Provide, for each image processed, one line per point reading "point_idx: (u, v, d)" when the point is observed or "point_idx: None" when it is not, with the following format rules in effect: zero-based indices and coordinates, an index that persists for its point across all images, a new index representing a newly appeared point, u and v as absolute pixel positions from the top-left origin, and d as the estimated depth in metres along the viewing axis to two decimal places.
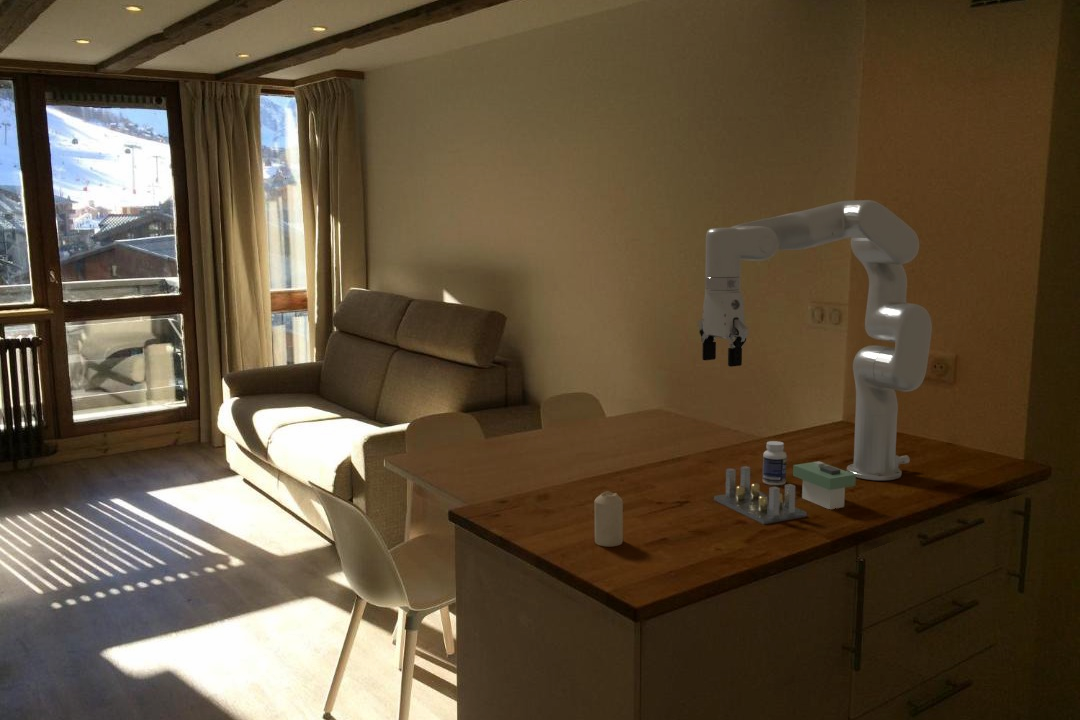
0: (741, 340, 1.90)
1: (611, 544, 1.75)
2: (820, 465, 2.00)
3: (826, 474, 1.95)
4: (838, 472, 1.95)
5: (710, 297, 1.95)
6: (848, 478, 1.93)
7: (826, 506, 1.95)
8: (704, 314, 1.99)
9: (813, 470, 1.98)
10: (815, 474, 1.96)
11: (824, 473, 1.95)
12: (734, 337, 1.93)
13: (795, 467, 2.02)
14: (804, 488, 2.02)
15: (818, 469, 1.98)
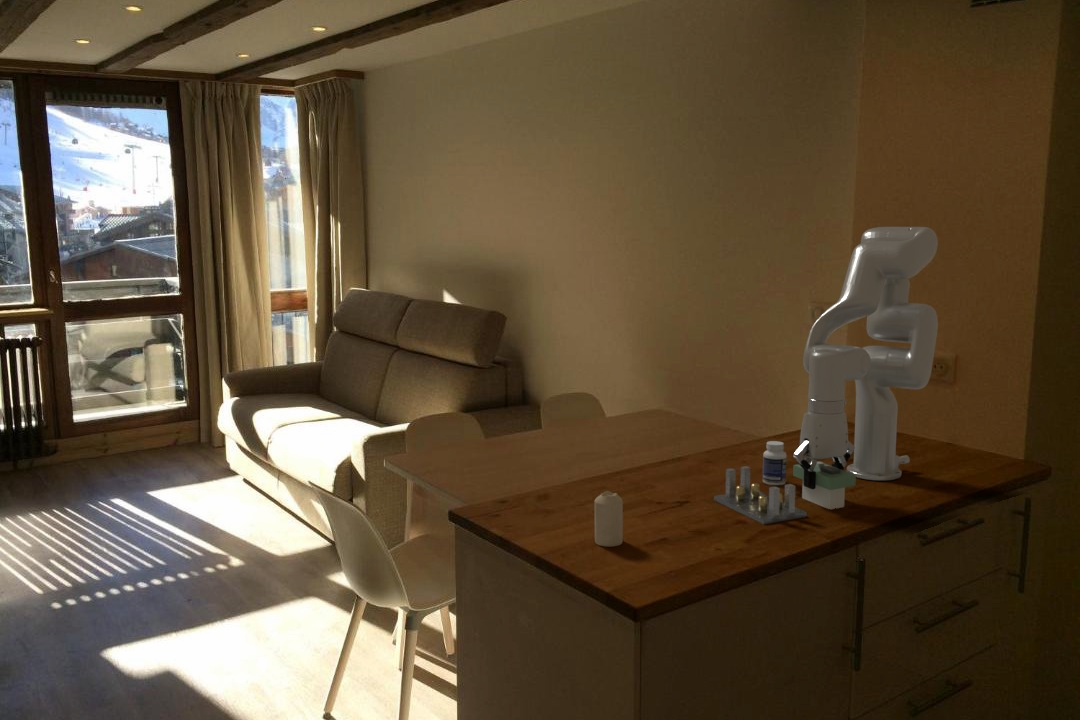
0: None
1: (611, 544, 1.75)
2: (820, 465, 2.00)
3: (826, 474, 1.95)
4: (838, 472, 1.95)
5: (830, 420, 1.94)
6: (848, 478, 1.93)
7: (826, 506, 1.95)
8: (818, 440, 1.94)
9: (813, 470, 1.98)
10: None
11: (824, 473, 1.95)
12: None
13: (795, 467, 2.02)
14: (804, 488, 2.02)
15: (818, 469, 1.98)
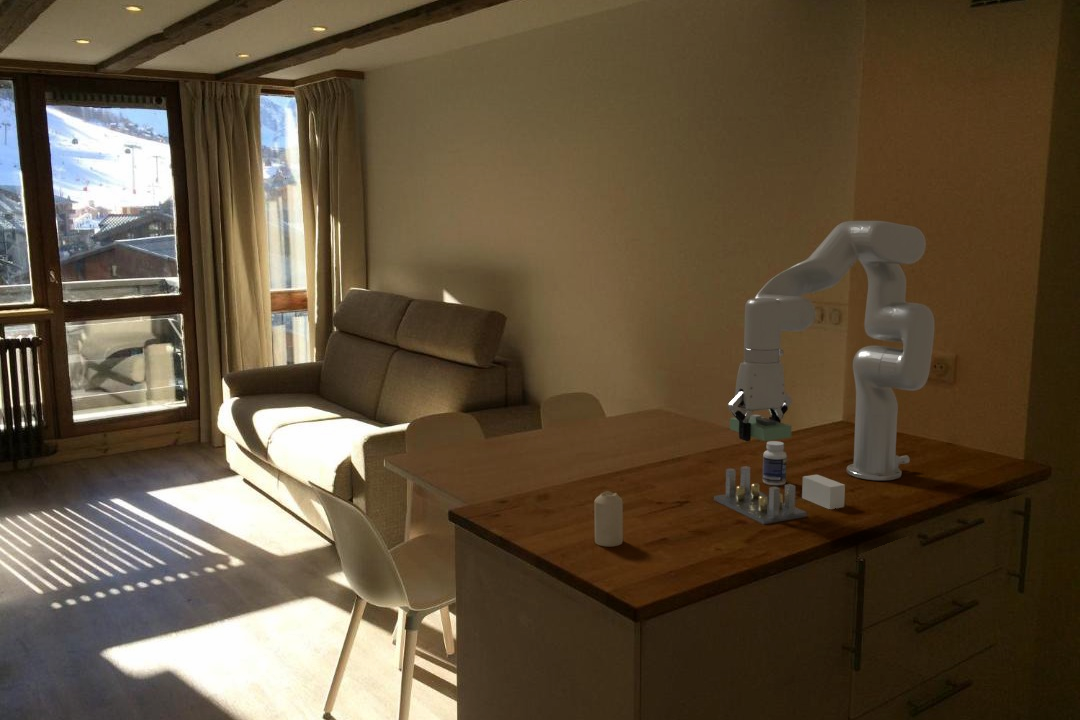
0: None
1: (611, 544, 1.75)
2: (757, 418, 1.95)
3: (761, 425, 1.89)
4: (774, 423, 1.90)
5: (766, 370, 1.89)
6: (783, 429, 1.88)
7: (826, 506, 1.95)
8: (753, 390, 1.89)
9: (749, 422, 1.93)
10: None
11: (759, 424, 1.90)
12: None
13: (732, 420, 1.96)
14: (804, 488, 2.02)
15: (754, 421, 1.93)
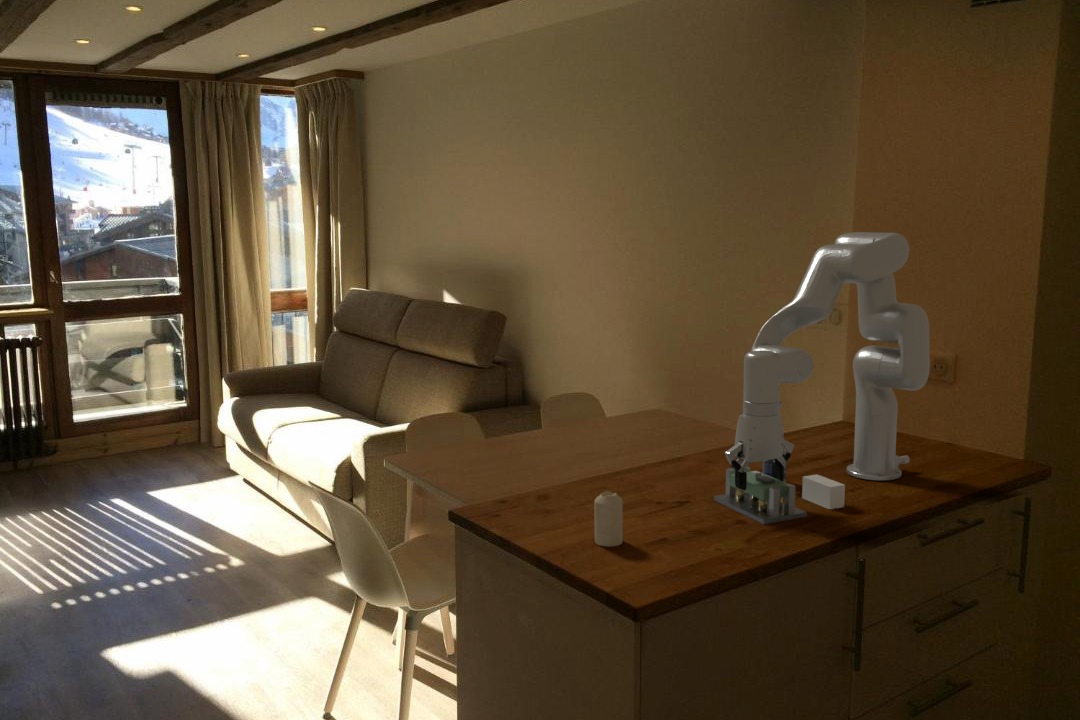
0: None
1: (611, 544, 1.75)
2: (757, 474, 1.98)
3: (761, 484, 1.92)
4: (773, 482, 1.92)
5: (765, 422, 1.91)
6: (783, 488, 1.90)
7: (826, 506, 1.95)
8: (752, 442, 1.90)
9: (749, 480, 1.95)
10: (750, 484, 1.93)
11: (759, 483, 1.92)
12: None
13: (732, 476, 1.99)
14: (804, 488, 2.02)
15: (754, 479, 1.95)
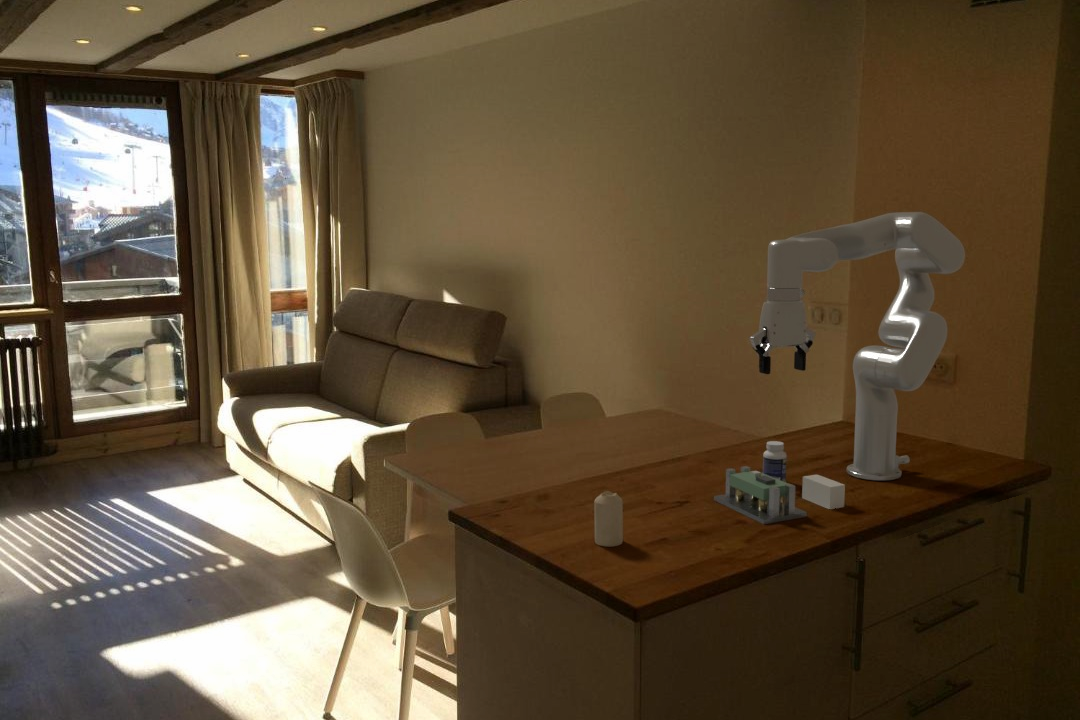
0: None
1: (611, 544, 1.75)
2: (757, 474, 1.98)
3: (761, 484, 1.92)
4: (773, 482, 1.92)
5: (788, 308, 1.98)
6: (783, 488, 1.90)
7: (826, 506, 1.95)
8: (776, 327, 1.97)
9: (749, 480, 1.95)
10: (750, 484, 1.93)
11: (759, 483, 1.92)
12: None
13: (732, 476, 1.99)
14: (804, 488, 2.02)
15: (754, 479, 1.95)
